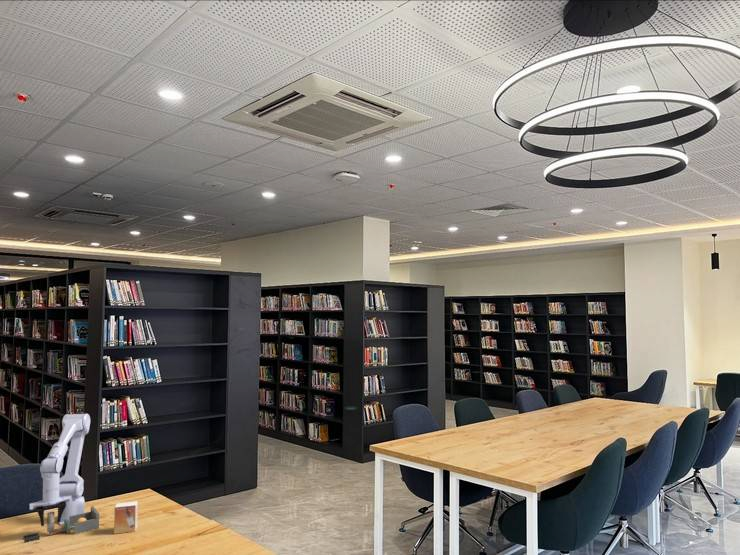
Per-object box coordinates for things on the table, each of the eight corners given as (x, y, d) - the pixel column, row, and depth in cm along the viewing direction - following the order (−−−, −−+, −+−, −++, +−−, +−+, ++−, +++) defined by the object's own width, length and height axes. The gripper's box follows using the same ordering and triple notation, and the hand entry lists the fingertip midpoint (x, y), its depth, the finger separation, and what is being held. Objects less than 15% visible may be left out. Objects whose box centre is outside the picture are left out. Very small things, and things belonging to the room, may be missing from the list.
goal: (93, 520, 232) (93, 506, 232) (98, 528, 223) (99, 513, 224) (69, 526, 227) (69, 511, 227) (74, 534, 218) (74, 518, 218)
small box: (113, 534, 217) (114, 507, 218) (116, 529, 222) (116, 502, 223) (135, 532, 219) (135, 505, 220) (137, 526, 225) (137, 500, 225)
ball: (78, 515, 226) (73, 524, 224) (80, 517, 223) (75, 527, 221) (88, 518, 228) (82, 527, 226) (90, 520, 225) (84, 530, 223)
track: (38, 536, 217) (38, 532, 217) (39, 539, 214) (39, 535, 214) (23, 539, 214) (23, 535, 214) (24, 543, 210) (24, 539, 211)
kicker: (67, 527, 224) (67, 506, 225) (70, 532, 219) (70, 511, 220) (45, 532, 220) (46, 511, 220) (48, 537, 214) (48, 515, 215)
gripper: (31, 495, 211) (30, 531, 210) (73, 487, 220) (72, 522, 219) (29, 490, 217) (28, 526, 216) (70, 483, 226) (69, 517, 225)
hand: (50, 523), depth 218 cm, fingers open, 5 cm apart
